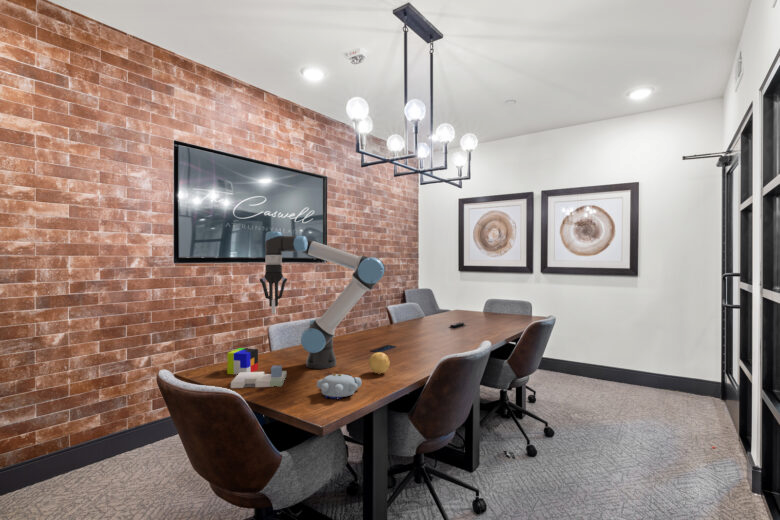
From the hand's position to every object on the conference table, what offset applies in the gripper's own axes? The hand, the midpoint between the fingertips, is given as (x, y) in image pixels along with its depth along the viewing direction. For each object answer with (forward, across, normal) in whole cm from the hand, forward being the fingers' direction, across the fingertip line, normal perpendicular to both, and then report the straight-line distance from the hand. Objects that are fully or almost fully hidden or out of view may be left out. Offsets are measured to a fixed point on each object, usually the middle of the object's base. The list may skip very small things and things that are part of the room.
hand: (273, 313), depth 186 cm
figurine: (+29, +32, -32) cm, 53 cm away
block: (+26, +4, -14) cm, 30 cm away
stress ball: (+29, +50, -8) cm, 58 cm away
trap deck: (+28, -4, -14) cm, 32 cm away
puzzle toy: (+29, -15, +3) cm, 33 cm away
